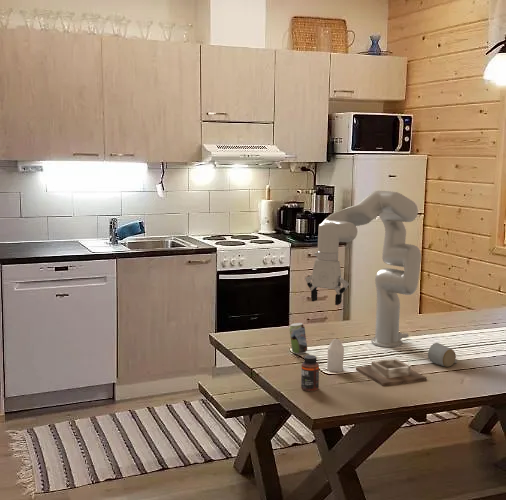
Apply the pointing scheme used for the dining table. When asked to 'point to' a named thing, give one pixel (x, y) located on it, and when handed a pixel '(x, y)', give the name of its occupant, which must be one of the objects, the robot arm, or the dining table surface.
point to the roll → (335, 356)
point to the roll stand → (390, 372)
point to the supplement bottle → (310, 374)
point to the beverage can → (298, 338)
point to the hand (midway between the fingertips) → (326, 302)
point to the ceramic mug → (441, 355)
